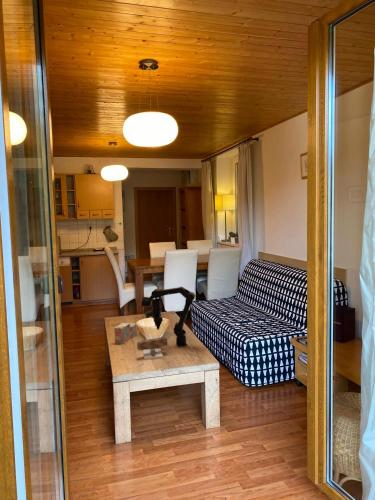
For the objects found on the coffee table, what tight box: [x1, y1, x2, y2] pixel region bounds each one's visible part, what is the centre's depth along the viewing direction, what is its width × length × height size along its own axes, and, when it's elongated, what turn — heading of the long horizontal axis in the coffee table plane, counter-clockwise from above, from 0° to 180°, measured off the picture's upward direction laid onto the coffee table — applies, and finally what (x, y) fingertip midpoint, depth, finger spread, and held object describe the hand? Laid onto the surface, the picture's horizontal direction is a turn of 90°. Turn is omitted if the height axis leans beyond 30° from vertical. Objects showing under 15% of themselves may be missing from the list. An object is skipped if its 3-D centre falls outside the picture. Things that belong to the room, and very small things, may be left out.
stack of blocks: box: [114, 322, 138, 345], centre depth 298 cm, size 21×6×12 cm, turn 157°
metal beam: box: [136, 336, 168, 351], centre depth 265 cm, size 20×4×5 cm, turn 116°
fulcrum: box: [142, 347, 164, 360], centre depth 265 cm, size 12×14×6 cm
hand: (157, 327), depth 285 cm, fingers open, 9 cm apart
